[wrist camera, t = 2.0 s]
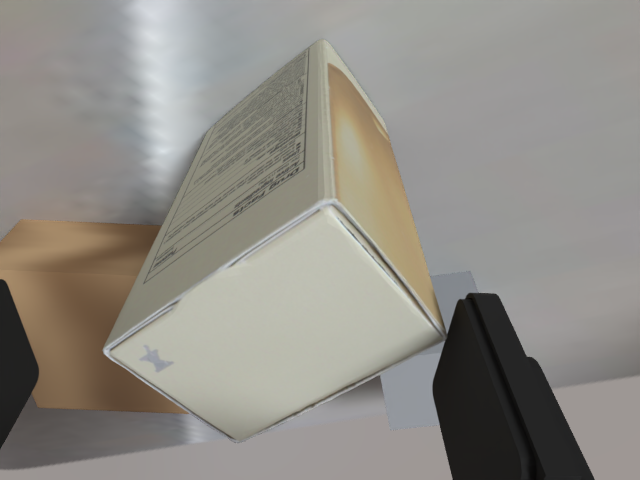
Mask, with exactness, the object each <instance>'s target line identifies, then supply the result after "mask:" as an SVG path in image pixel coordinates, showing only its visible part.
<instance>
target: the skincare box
mask: <svg viewBox="0 0 640 480" xmlns="http://www.w3.org/2000/svg"><path fill="white" fill-rule="evenodd" d="M446 339H447V332H446V328H445V325H444V322H443V318H442V315H441V312H440V309H439V305H438V302H437V299H436V295H435V292H434V288H433V285H432V282H431V279H430V275H429V272H428V269H427V265H426V261H425V258H424V254H423V251H422V248H421V244H420V241H419V237H418V234H417V231H416V227H415V224H414V220H413V217H412V214H411V210H410V207H409V203H408V200H407V197H406V193H405V190H404V186H403V183H402V180H401V176H400V173H399V170H398V167H397V163H396V160H395V157H394V154H393V150H392V147H391V143H390V139H389V136H388V132H387V129H386V126H385V123H384V121H383V119H382V118H381V116H380V115H379V113H378V112H377V110H376V109H375V107H374V106H373V104H372V103H371V101H370V100H369V98H368V97H367V96H366V94H365V93H364V91H363V90H362V88H361V87H360V85H359V84H358V82H357V81H356V80H355V78H354V77H353V75H352V74H351V72H350V71H349V70H348V68H347V67H346V66H345V64H344V63H343V61H342V60H341V59H340V57H339V56H338V55H337V53H336V52H335V50H334V49H333V48H332V46H331V45H330V44H329V43H328V42H327V41H326V40H324V39H321V40H318V41H317V42H315V43H314V44H313V45H311V46H310V47H309V48H307V49H306V50H305V51H303V52H302V53H301V54H299V55H298V56H297V57H295V58H294V59H293V60H292V61H291V62H289V63H288V64H287V65H285V66H284V67H283V68H282V69H280V70H279V71H278V72H276V73H275V74H274V75H273V76H271V77H270V78H269V79H268V80H267V81H265V82H264V83H263V84H262V85H261V86H259V87H258V88H257V89H256V90H255V91H253V92H252V93H251V94H250V95H248V96H247V97H246V98H245V99H244V100H243V101H241V102H240V103H239V104H238V105H237V106H236V107H234V108H233V109H232V110H231V111H230V112H229V113H227V114H226V115H225V116H224V117H223V118H222V119H221V120H220V121H218V122H217V123H216V124H215V125H214V126H213V127H212V128H210V129H209V131H208V132H207V133H206V135H205V137H204V140H203V142H202V144H201V146H200V148H199V150H198V152H197V154H196V156H195V158H194V160H193V163H192V165H191V167H190V169H189V171H188V173H187V175H186V177H185V179H184V181H183V183H182V185H181V187H180V190H179V192H178V194H177V196H176V198H175V200H174V202H173V204H172V206H171V208H170V210H169V212H168V215H167V217H166V219H165V221H164V223H163V225H162V227H161V229H160V231H159V233H158V235H157V237H156V239H155V241H154V243H153V245H152V247H151V249H150V251H149V253H148V256H147V258H146V260H145V262H144V264H143V266H142V268H141V270H140V272H139V274H138V276H137V278H136V280H135V283H134V285H133V287H132V289H131V291H130V293H129V295H128V297H127V299H126V301H125V303H124V305H123V308H122V310H121V312H120V314H119V316H118V318H117V320H116V322H115V324H114V327H113V329H112V331H111V333H110V335H109V337H108V339H107V341H106V343H105V345H104V347H103V353H104V355H106V356H107V357H108V358H110V359H111V360H112V361H114V362H115V363H117V364H119V365H120V366H122V367H123V368H125V369H127V370H128V371H129V372H131V373H132V374H133V375H134V376H136V377H137V378H139V379H140V380H142V381H143V382H145V383H146V384H147V385H149V386H150V387H152V388H153V389H155V390H156V391H158V392H159V393H160V394H162V395H163V396H165V397H166V398H168V399H169V400H171V401H172V402H174V403H175V404H176V405H178V406H179V407H181V408H182V409H184V410H185V411H187V412H188V413H190V414H191V415H193V416H194V417H195V418H197V419H198V420H200V421H201V422H203V423H204V424H206V425H207V426H209V427H211V428H212V429H214V430H216V431H218V432H219V433H220V434H222V435H224V436H225V437H227V438H228V439H229V440H231V441H233V442H234V443H240V442H244V441H246V440H248V439H250V438H252V437H254V436H256V435H260V434H262V433H263V432H266V431H268V430H270V429H272V428H274V427H277V426H279V425H281V424H283V423H285V422H287V421H289V420H291V419H293V418H295V417H298V416H300V415H302V414H304V413H305V412H308V411H310V410H312V409H314V408H316V407H318V406H319V405H321V404H324V403H326V402H328V401H330V400H332V399H334V398H336V397H338V396H340V395H341V394H344V393H346V392H348V391H350V390H352V389H354V388H355V387H357V386H359V385H361V384H363V383H365V382H367V381H369V380H371V379H373V378H375V377H377V376H379V375H381V374H383V373H385V372H387V371H389V370H390V369H392V368H394V367H396V366H398V365H399V364H401V363H403V362H405V361H407V360H409V359H411V358H413V357H415V356H416V355H418V354H420V353H422V352H424V351H426V350H428V349H430V348H432V347H434V346H435V345H437V344H439V343H441V342H443V341H445V340H446Z"/></svg>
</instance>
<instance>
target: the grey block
mask: <svg viewBox="0 0 640 480" xmlns="http://www.w3.org/2000/svg"><path fill="white" fill-rule="evenodd" d="M430 279H431V282H432V285H433V288H434V292H435V295H436V299H437V302H438V305H439V309H440V312H441V315H442V318H443V322H444V325H445V328H446V332H447V333H448V330H449V327H450V323H451V320H452V317H453V314H454V310H455V307H456V304H457V301H458V300H459V299H465V298H466V295H467V294H468V293H479V292H478V290H477V287H476V284H475V282H474V279H473V276H472V274H471V271H466V272H459V273H451V274H444V275H437V276H430ZM444 343H445V341H443V342H441V343H439V344H437V345H435V346H434V347H432V348H430V349H428V350H426V351H424V352H422V353H420V354H418V355H416V356H415V357H413V358H411V359H409V360H407V361H405V362H403V363H401V364H399V365H398V366H396V367H394V368H392V369H390V370H389V371H387V372H385V373H383V374H381V375H380V378H381V383H382V389H383V394H384V399H385V405H386V410H387V416H388V420H389V426H390V430H397V429H406V428H416V427H426V426H435V425H440V424H439V420H438V416H437V411H436V407H435V403H434V399H433V392H432V385H433V379H434V376H435V372H436V369H437V366H438V363H439V359H440V356H441V353H442V350H443V346H444Z"/></svg>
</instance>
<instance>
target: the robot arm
mask: <svg viewBox="0 0 640 480" xmlns="http://www.w3.org/2000/svg"><path fill="white" fill-rule="evenodd" d="M38 378H39V366H38V363H37V361H36V358H35V356H34V353H33V350H32V348H31V345H30V342H29V340H28V337H27V335H26V332H25V329H24V327H23V324H22V321H21V319H20V316H19V313H18V311H17V308H16V306H15V303H14V300H13V298H12V295H11V292H10V290H9V287H8V285H7V283H6V281H5V280H3V279H0V449H1V447H2V445H3V443H4V442H5V440H6V438H7V436H8V434H9V433H10V431H11V429H12V427H13V425H14V424H15V422H16V420H17V418H18V416H19V415H20V413H21V411H22V409H23V407H24V406H25V404H26V402H27V400H28V398H29V397H30V395H31V393H32V391H33V389H34V388H35V386H36V384H37V381H38ZM432 392H433V399H434V403H435V407H436V411H437V416H438V420H439V424H440V428H441V432H442V436H443V440H444V445H445V449H446V453H447V457H448V461H449V465H450V470H451V474H452V478H453V480H594V477H593V475H592V473H591V471H590V469H589V467H588V465H587V463H586V460H585V458H584V457H583V454H582V452H581V450H580V448H579V446H578V444H577V442H576V440H575V438H574V436H573V433H572V431H571V429H570V427H569V425H568V423H567V421H566V419H565V417H564V415H563V413H562V410H561V409H560V406H559V404H558V402H557V400H556V398H555V396H554V394H553V392H552V390H551V388H550V385H549V383H548V381H547V379H546V377H545V375H544V373H543V371H542V369H541V367H540V365H539V364H538V362H537V361H536V360H535V359H534V358H532V357H527V356H526V354H525V352H524V350H523V348H522V345H521V343H520V341H519V339H518V337H517V335H516V332H515V330H514V328H513V326H512V324H511V322H510V319H509V317H508V315H507V313H506V311H505V309H504V306H503V304H502V302H501V300H500V298H499V296H498V295H497V294H490V293H468V294H467V295H466V298H465V299H459V300H458V301H457V304H456V307H455V310H454V314H453V317H452V320H451V323H450V327H449V330H448V333H447V339H446V340H445V343H444V346H443V350H442V353H441V356H440V359H439V363H438V366H437V369H436V372H435V376H434V379H433V385H432Z"/></svg>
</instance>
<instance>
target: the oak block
mask: <svg viewBox="0 0 640 480" xmlns="http://www.w3.org/2000/svg"><path fill="white" fill-rule="evenodd" d="M161 227H162V226H159V225H136V224H114V223H91V222H69V221H46V220H24V219H21V220H20V221H19V222H18V223H17V225H16V226H15V227H14V228H13V229H12V230H11V231H10V232H9V233H8V234H7V235H6V236H5V237H4V238H3V240H2V241H1V242H0V279H3V280H5V281H6V283H7V285H8V287H9V290H10V292H11V295H12V298H13V300H14V303H15V306H16V308H17V311H18V313H19V316H20V319H21V321H22V324H23V327H24V329H25V332H26V335H27V337H28V340H29V342H30V345H31V348H32V350H33V353H34V356H35V358H36V361H37V363H38V366H39V378H38V381H37V384H36V386H35V388H34V389H33V391H32V395H33V398H34V400H35V402H36V404H37V406H38V408H57V409H82V410H107V411H132V412H157V413H181V414H190V413H188V412H187V411H185V410H184V409H182V408H181V407H179V406H178V405H176V404H175V403H174V402H172V401H171V400H169V399H168V398H166V397H165V396H163V395H162V394H160V393H159V392H158V391H156V390H155V389H153V388H152V387H150V386H149V385H147V384H146V383H145V382H143V381H142V380H140V379H139V378H137V377H136V376H134V375H133V374H132V373H131V372H129V371H128V370H127V369H125V368H123V367H122V366H120V365H119V364H117V363H115V362H114V361H112V360H111V359H110V358H108V357H107V356H106V355H104V353H103V347H104V345H105V343H106V341H107V339H108V337H109V335H110V333H111V331H112V329H113V327H114V324H115V322H116V320H117V318H118V316H119V314H120V312H121V310H122V308H123V305H124V303H125V301H126V299H127V297H128V295H129V293H130V291H131V289H132V287H133V285H134V283H135V280H136V278H137V276H138V274H139V272H140V270H141V268H142V266H143V264H144V262H145V260H146V258H147V256H148V253H149V251H150V249H151V247H152V245H153V243H154V241H155V239H156V237H157V235H158V233H159V231H160V229H161Z"/></svg>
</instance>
